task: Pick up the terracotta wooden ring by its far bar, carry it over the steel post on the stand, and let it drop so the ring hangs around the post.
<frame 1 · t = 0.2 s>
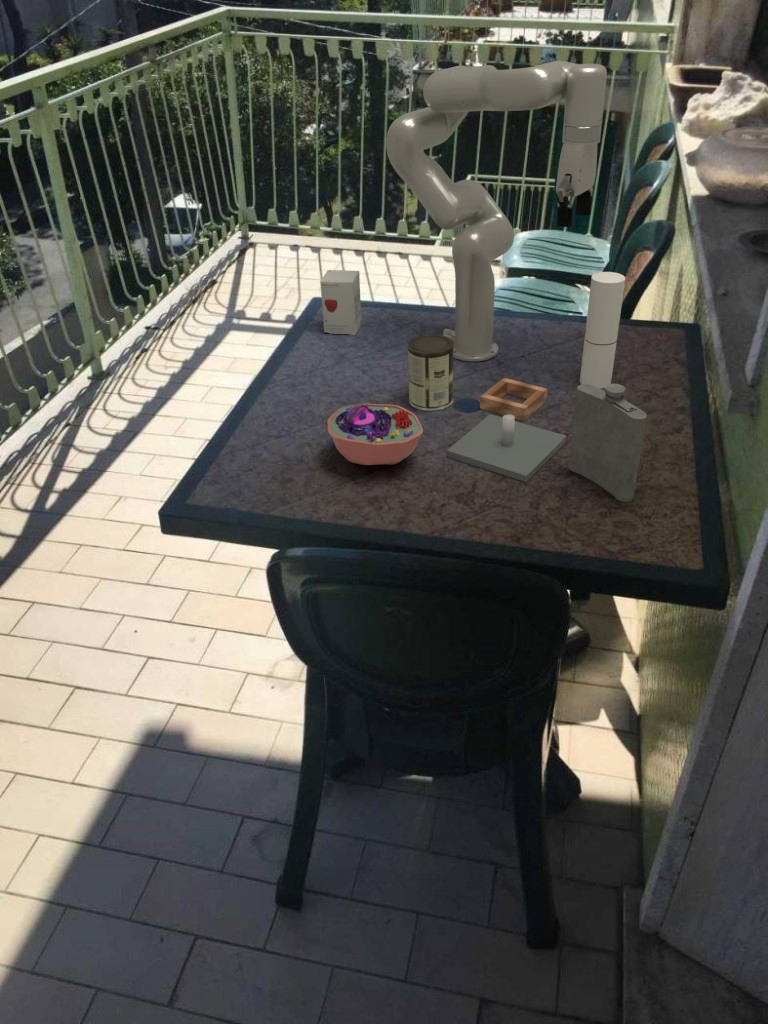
hand: (573, 220, 174), 36 cm above the table, tool pointing down, fingers open, 9 cm apart
coffee can: (430, 401, 186), on the table
supplement box: (343, 329, 222), on the table
cell model: (376, 459, 167), on the table
ring: (513, 404, 183), on the table
hip flask: (601, 482, 157), on the table
cylindrical container: (595, 382, 191), on the table
stand: (506, 449, 168), on the table
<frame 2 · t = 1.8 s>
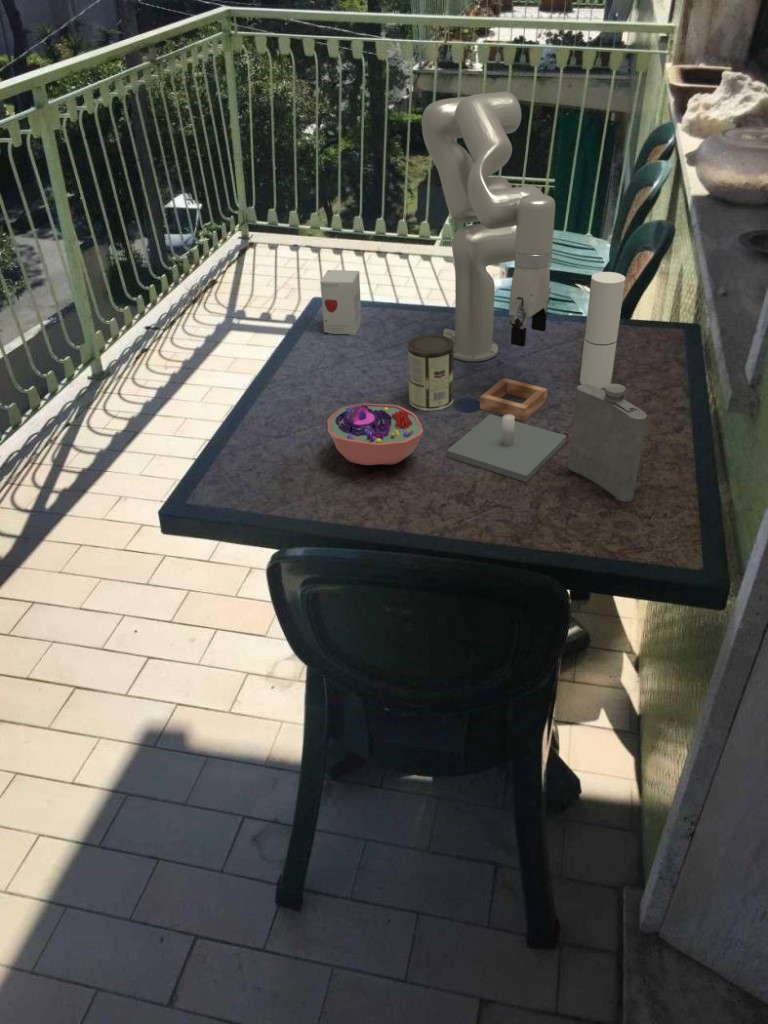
hand: (528, 337, 177), 15 cm above the table, tool pointing down, fingers open, 9 cm apart
nothing on the table moved.
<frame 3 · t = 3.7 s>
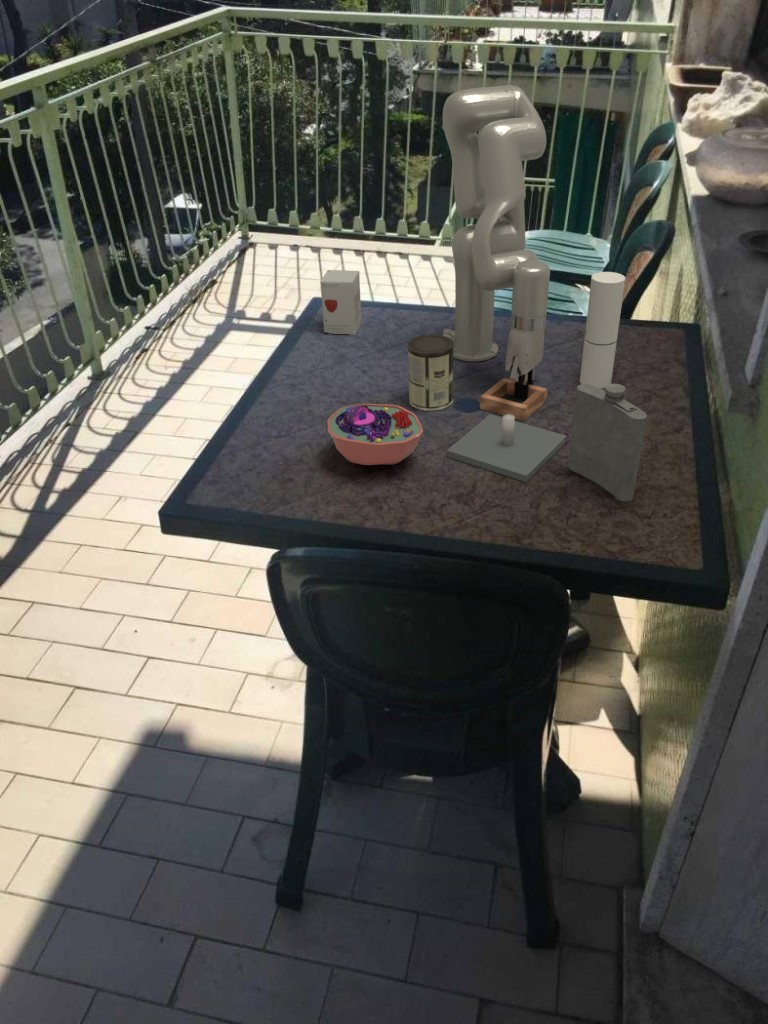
hand: (523, 395, 186), 0 cm above the table, tool pointing down, fingers closed on ring
ring: (513, 404, 183), on the table, touching gripper
everything else where it was.
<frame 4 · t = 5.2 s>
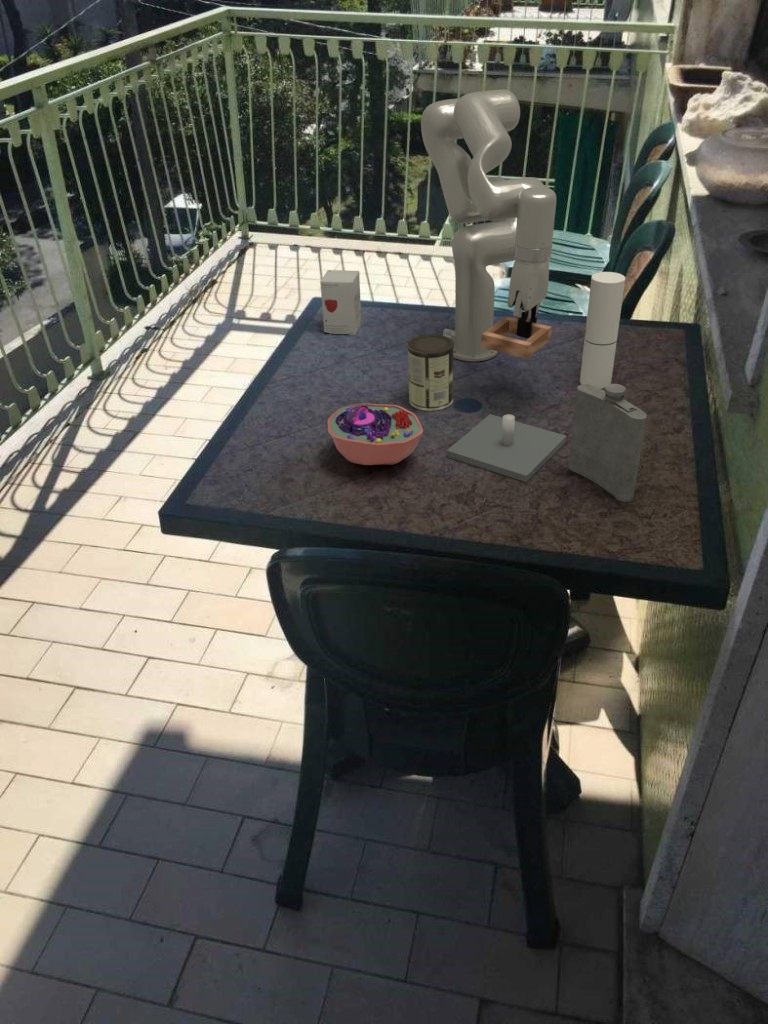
hand: (526, 334, 178), 15 cm above the table, tool pointing down, fingers closed on ring
ring: (516, 343, 175), point 15 cm above the table, touching gripper
everything else where it was.
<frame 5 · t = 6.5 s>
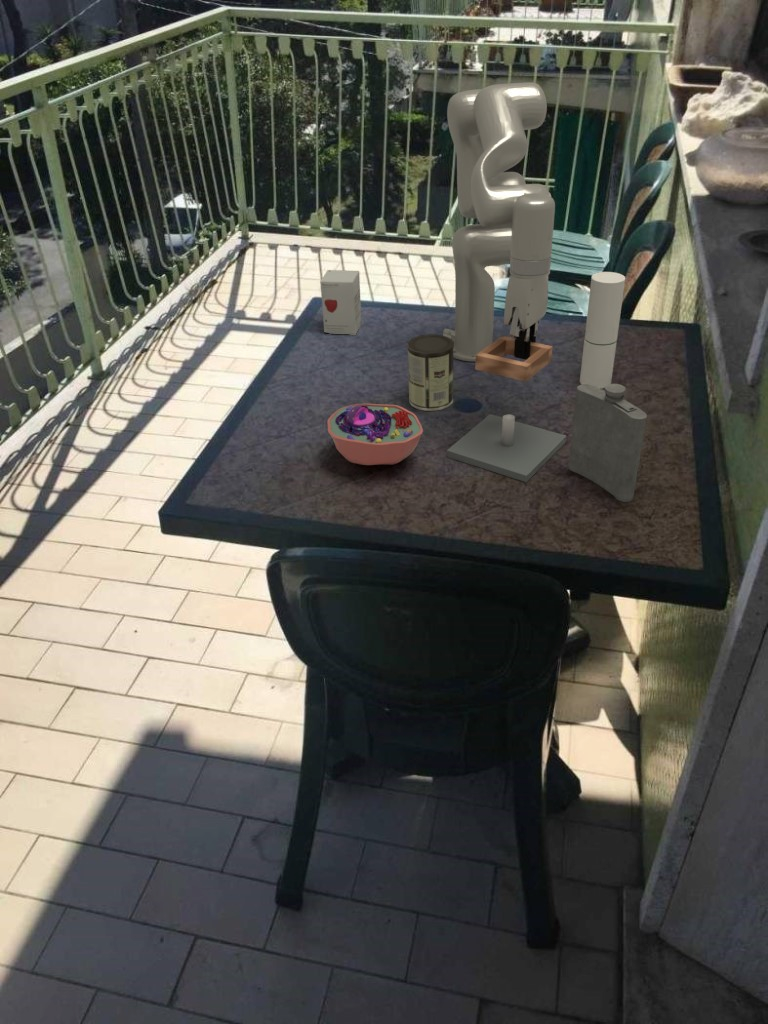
hand: (524, 355, 163), 18 cm above the table, tool pointing down, fingers closed on ring
ring: (513, 364, 160), point 18 cm above the table, touching gripper
everything else where it was.
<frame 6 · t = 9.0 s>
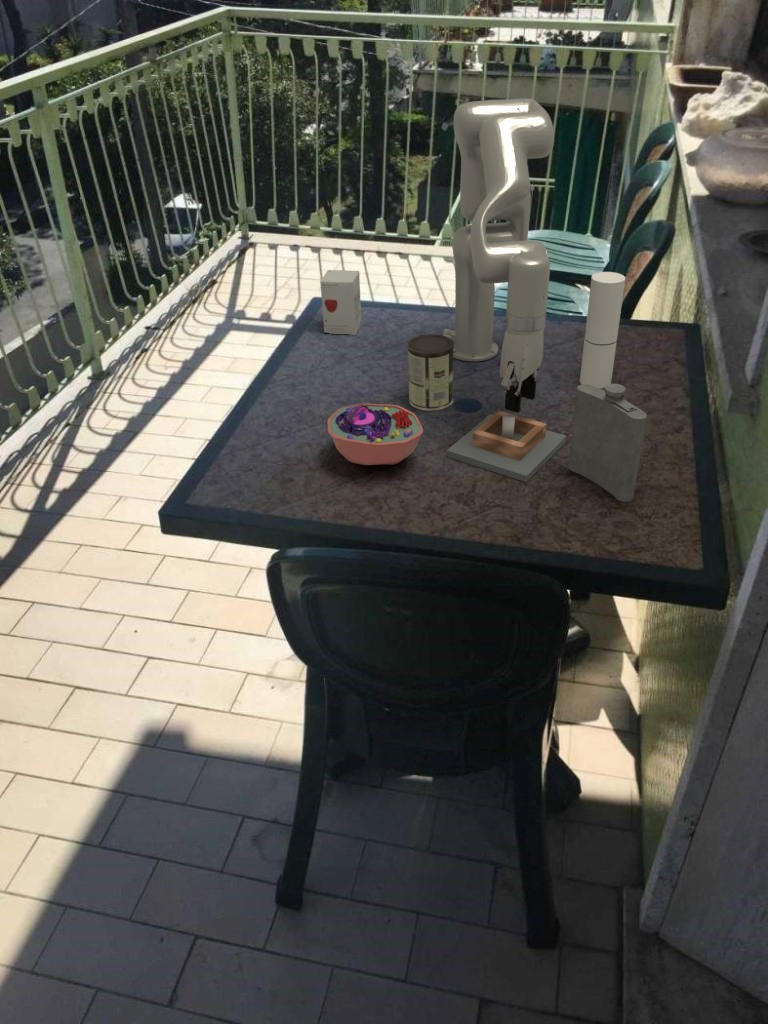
hand: (520, 403, 166), 9 cm above the table, tool pointing down, fingers open, 5 cm apart
ring: (509, 441, 167), point 1 cm above the table, touching stand
everything else where it was.
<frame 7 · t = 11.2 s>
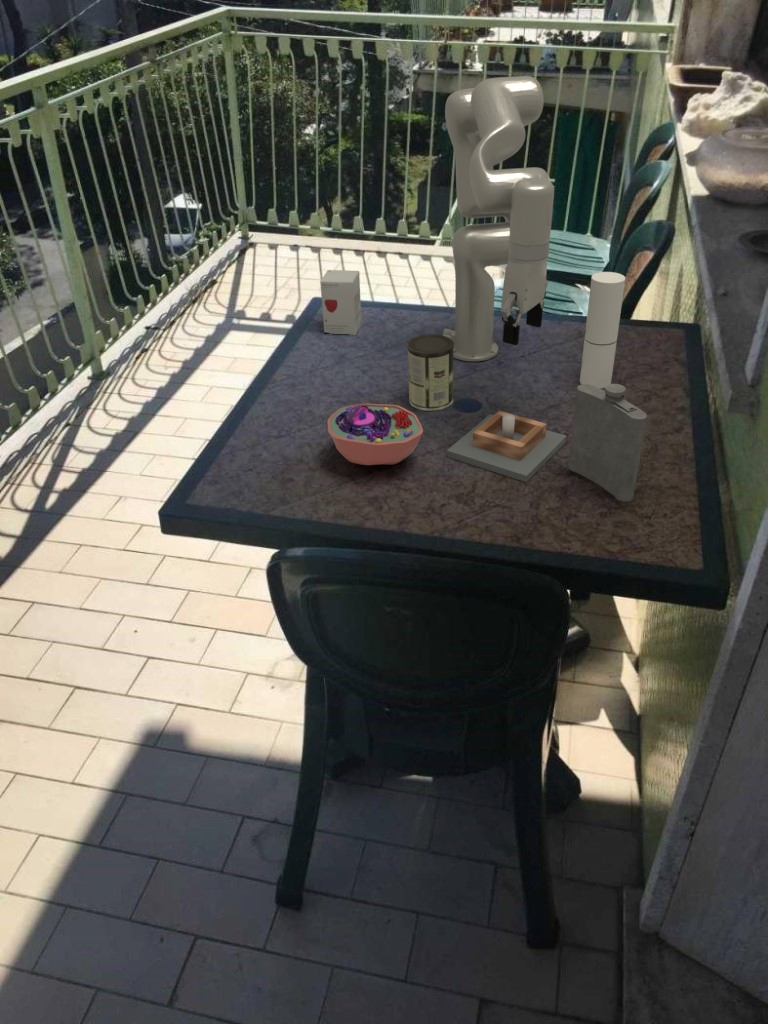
hand: (522, 334, 163), 21 cm above the table, tool pointing down, fingers open, 9 cm apart
nothing on the table moved.
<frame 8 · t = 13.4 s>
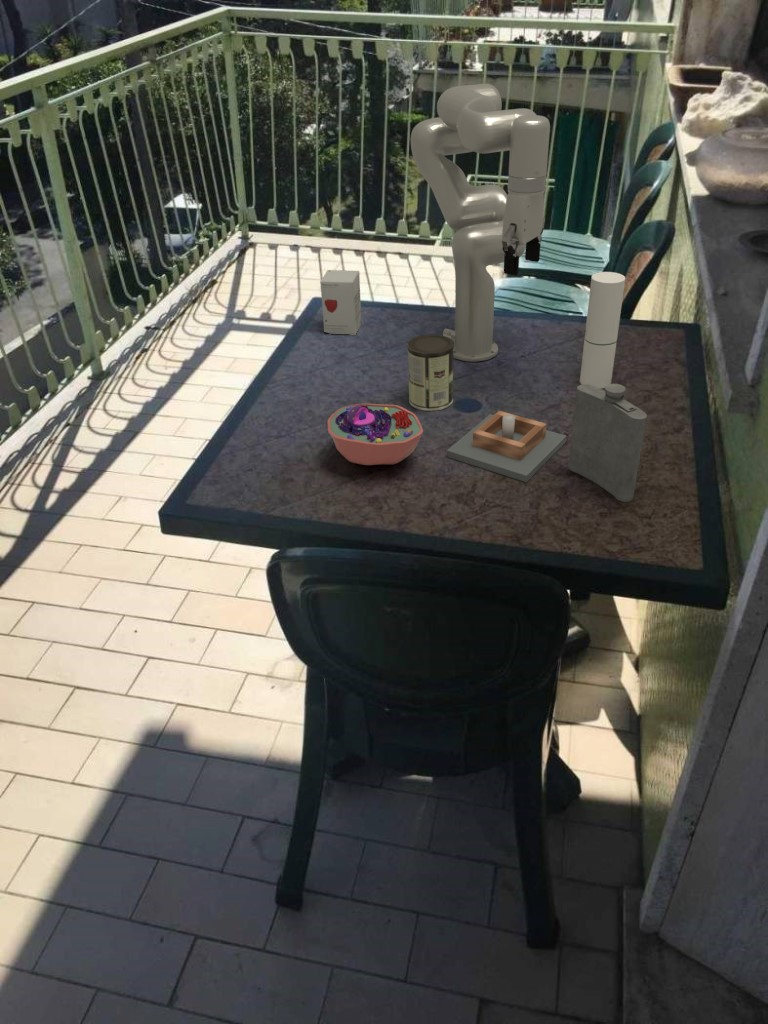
hand: (521, 267, 174), 28 cm above the table, tool pointing down, fingers open, 9 cm apart
nothing on the table moved.
at the end: ring 0.9 cm off-centre on the stand, point 1.5 cm above the stand's base; the gripper is holding nothing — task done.
